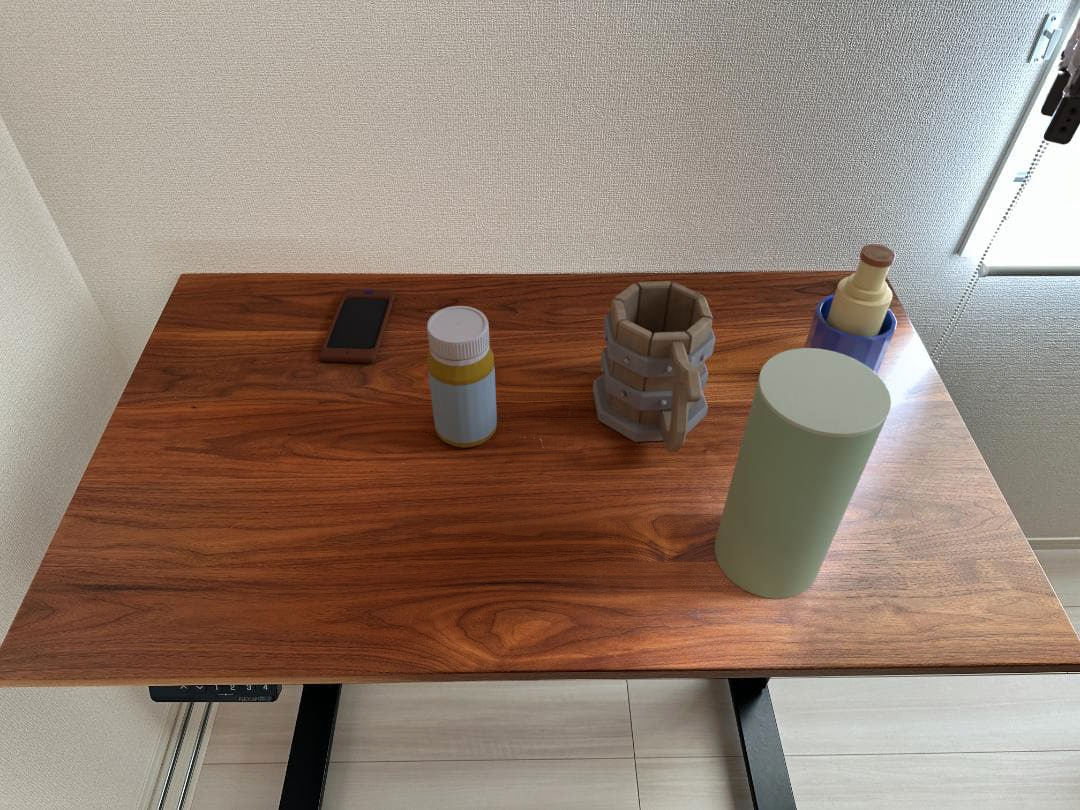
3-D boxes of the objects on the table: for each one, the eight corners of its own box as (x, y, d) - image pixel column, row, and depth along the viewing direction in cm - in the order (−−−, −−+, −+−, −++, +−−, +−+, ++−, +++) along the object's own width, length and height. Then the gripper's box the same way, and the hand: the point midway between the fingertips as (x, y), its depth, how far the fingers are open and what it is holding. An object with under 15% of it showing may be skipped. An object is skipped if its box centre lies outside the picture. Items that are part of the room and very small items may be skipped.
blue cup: (880, 356, 98) (901, 305, 92) (869, 400, 92) (890, 348, 86) (808, 337, 101) (824, 286, 95) (793, 377, 95) (809, 326, 89)
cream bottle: (867, 356, 97) (910, 246, 86) (859, 385, 93) (903, 273, 82) (819, 343, 99) (855, 233, 88) (809, 370, 95) (845, 259, 84)
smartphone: (395, 288, 106) (373, 358, 95) (396, 294, 107) (374, 364, 96) (344, 287, 106) (316, 356, 95) (345, 292, 107) (318, 362, 96)
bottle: (459, 400, 91) (449, 295, 81) (508, 421, 89) (505, 316, 78) (423, 436, 87) (408, 330, 77) (474, 459, 84) (466, 354, 74)
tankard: (588, 371, 95) (595, 268, 85) (689, 366, 96) (708, 264, 86) (611, 495, 81) (623, 390, 71) (729, 489, 82) (758, 383, 71)
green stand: (827, 535, 77) (899, 369, 62) (806, 615, 71) (880, 450, 56) (730, 501, 80) (776, 335, 65) (701, 574, 74) (744, 408, 59)
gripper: (1228, -52, 56) (1102, 162, 67) (1194, -72, 66) (1090, 116, 77) (1114, -70, 58) (1010, 141, 69) (1098, -87, 68) (1009, 98, 79)
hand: (1052, 128), depth 73 cm, fingers open, 8 cm apart
